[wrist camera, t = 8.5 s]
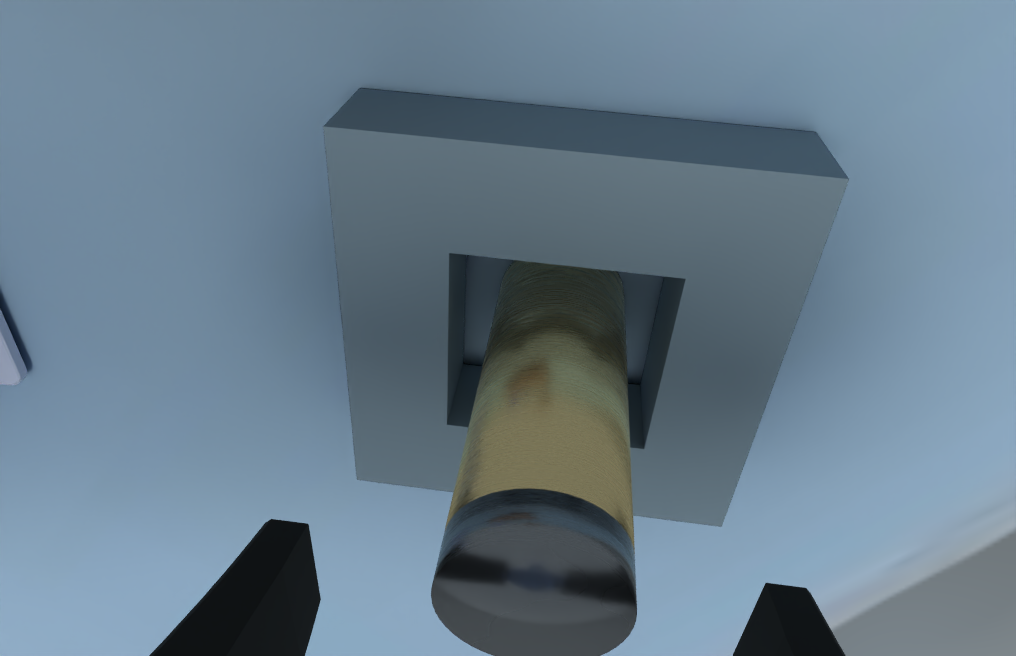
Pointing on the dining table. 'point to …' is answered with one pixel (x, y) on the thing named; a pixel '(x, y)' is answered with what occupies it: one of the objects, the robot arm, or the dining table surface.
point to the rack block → (579, 243)
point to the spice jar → (545, 475)
